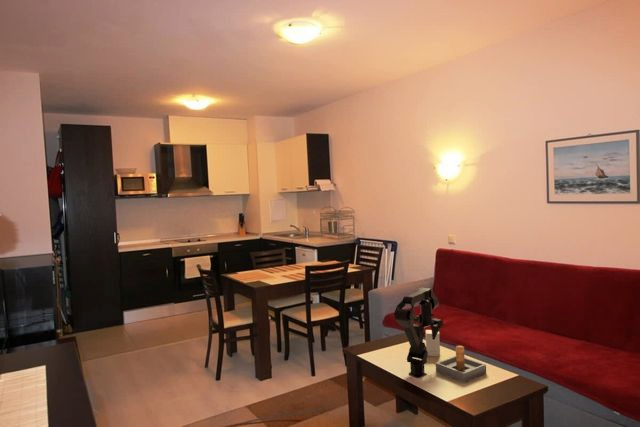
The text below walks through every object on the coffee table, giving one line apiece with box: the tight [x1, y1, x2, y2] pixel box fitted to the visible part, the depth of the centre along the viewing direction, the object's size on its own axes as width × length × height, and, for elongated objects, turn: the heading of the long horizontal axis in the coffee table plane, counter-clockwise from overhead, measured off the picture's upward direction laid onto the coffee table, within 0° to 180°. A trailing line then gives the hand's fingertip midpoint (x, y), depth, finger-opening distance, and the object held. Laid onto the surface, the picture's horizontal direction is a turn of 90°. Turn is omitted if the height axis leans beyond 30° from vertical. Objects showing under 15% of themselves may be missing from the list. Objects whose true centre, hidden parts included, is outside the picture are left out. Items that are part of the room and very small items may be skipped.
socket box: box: [435, 355, 487, 384], centre depth 216 cm, size 17×17×4 cm
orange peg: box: [455, 345, 466, 371], centre depth 216 cm, size 4×4×13 cm
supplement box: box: [425, 329, 441, 357], centre depth 243 cm, size 7×7×13 cm
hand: (427, 341), depth 226 cm, fingers open, 9 cm apart
